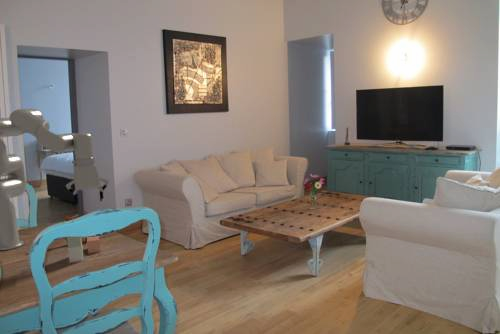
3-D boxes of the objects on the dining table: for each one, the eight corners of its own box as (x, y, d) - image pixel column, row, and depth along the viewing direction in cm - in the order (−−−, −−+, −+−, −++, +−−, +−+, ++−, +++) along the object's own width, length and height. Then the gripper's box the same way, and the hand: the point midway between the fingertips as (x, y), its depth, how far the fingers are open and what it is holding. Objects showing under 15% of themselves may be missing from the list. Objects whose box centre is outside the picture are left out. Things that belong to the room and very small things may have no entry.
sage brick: (69, 242, 189) (67, 228, 188) (81, 241, 191) (80, 227, 190) (68, 248, 182) (66, 233, 181) (81, 246, 183) (79, 232, 182)
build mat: (68, 258, 190) (67, 256, 190) (86, 255, 193) (86, 254, 192) (67, 264, 182) (66, 263, 182) (86, 262, 184) (85, 260, 184)
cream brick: (70, 256, 190) (69, 242, 189) (83, 254, 192) (81, 241, 191) (69, 262, 182) (68, 248, 182) (83, 260, 184) (81, 246, 183)
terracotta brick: (88, 249, 201) (87, 236, 200) (100, 248, 202) (99, 235, 201) (88, 255, 193) (87, 241, 192) (100, 253, 195) (99, 239, 194)
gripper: (62, 165, 186) (67, 206, 188) (106, 161, 191) (110, 201, 194) (63, 163, 193) (68, 202, 195) (106, 159, 199) (110, 197, 201)
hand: (89, 201), depth 195 cm, fingers open, 9 cm apart
